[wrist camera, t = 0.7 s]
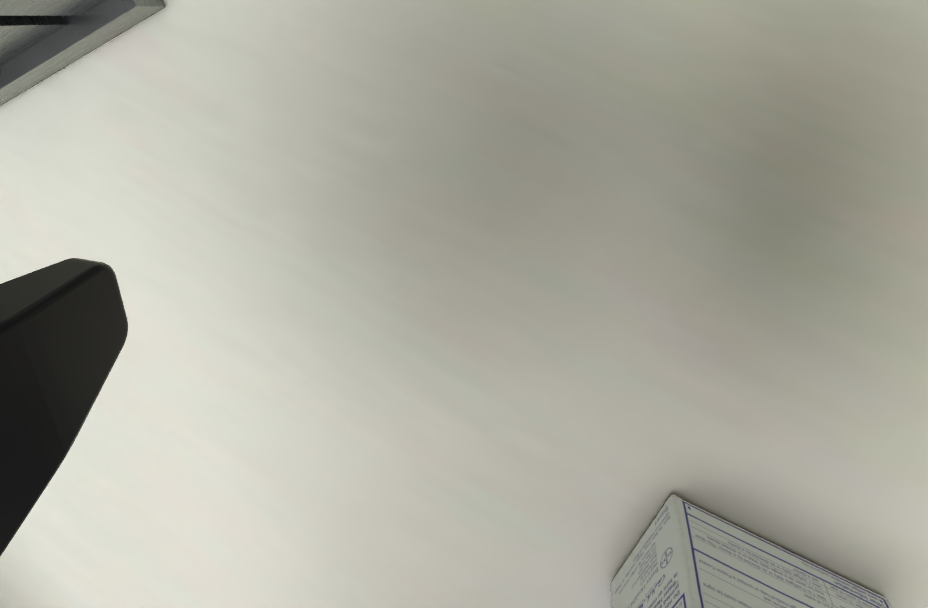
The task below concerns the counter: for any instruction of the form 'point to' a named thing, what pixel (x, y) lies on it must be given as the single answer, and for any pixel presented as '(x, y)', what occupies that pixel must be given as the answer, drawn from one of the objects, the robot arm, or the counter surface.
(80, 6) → the grey holder with base
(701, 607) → the medicine box
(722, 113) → the counter surface
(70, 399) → the robot arm
